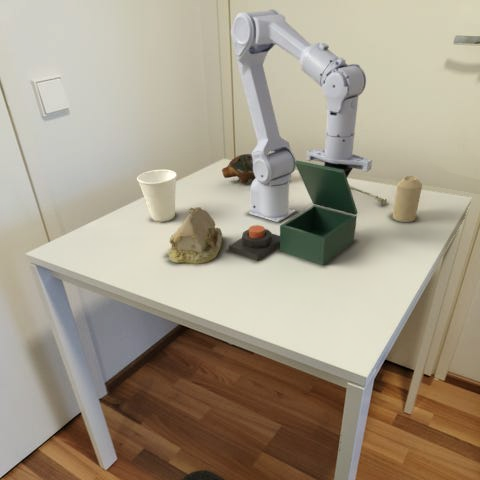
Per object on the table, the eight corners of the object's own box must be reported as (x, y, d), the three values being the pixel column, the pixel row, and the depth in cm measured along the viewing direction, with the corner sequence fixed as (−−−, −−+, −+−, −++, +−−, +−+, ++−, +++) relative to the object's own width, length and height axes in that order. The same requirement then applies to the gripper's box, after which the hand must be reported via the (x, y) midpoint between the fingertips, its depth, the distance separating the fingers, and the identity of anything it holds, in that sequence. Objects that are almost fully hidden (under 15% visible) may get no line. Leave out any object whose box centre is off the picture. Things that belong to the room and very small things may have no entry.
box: (322, 265, 95) (324, 238, 91) (279, 251, 101) (279, 225, 97) (353, 241, 103) (356, 215, 99) (312, 229, 109) (313, 204, 105)
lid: (342, 172, 87) (344, 169, 87) (294, 163, 93) (296, 160, 93) (356, 215, 99) (357, 212, 99) (313, 204, 105) (314, 201, 105)
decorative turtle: (276, 183, 135) (275, 156, 129) (226, 191, 133) (223, 165, 128) (268, 170, 142) (267, 145, 137) (221, 179, 141) (218, 153, 136)
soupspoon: (330, 183, 135) (314, 190, 132) (330, 172, 133) (314, 179, 130) (392, 201, 120) (376, 209, 117) (393, 189, 118) (377, 197, 115)
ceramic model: (208, 268, 96) (203, 224, 90) (161, 261, 99) (154, 219, 93) (230, 238, 107) (227, 198, 101) (187, 233, 110) (182, 194, 104)
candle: (416, 222, 109) (424, 182, 103) (392, 221, 110) (399, 181, 104) (414, 213, 114) (422, 174, 108) (391, 212, 115) (398, 173, 109)
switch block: (229, 251, 102) (228, 238, 100) (257, 234, 108) (257, 221, 106) (256, 261, 98) (256, 248, 96) (284, 242, 104) (284, 230, 102)
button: (245, 236, 101) (245, 229, 100) (255, 230, 103) (255, 223, 102) (258, 241, 99) (258, 233, 98) (268, 234, 101) (268, 227, 100)
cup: (137, 222, 117) (129, 180, 110) (156, 208, 124) (150, 167, 117) (170, 227, 113) (164, 184, 107) (188, 212, 121) (183, 171, 114)
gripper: (382, 133, 91) (373, 198, 99) (319, 124, 98) (316, 185, 106) (365, 142, 86) (357, 209, 94) (302, 132, 94) (299, 195, 102)
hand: (334, 197), depth 100 cm, fingers closed, pressing on lid
